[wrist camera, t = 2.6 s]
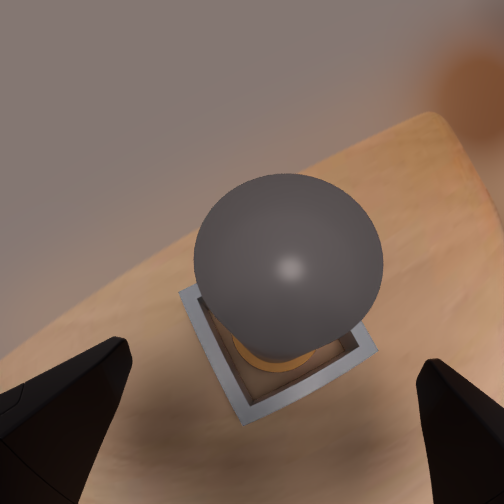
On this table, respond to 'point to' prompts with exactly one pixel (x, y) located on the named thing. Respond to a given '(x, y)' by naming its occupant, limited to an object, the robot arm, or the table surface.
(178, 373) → the table surface
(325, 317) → the plug
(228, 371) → the socket
